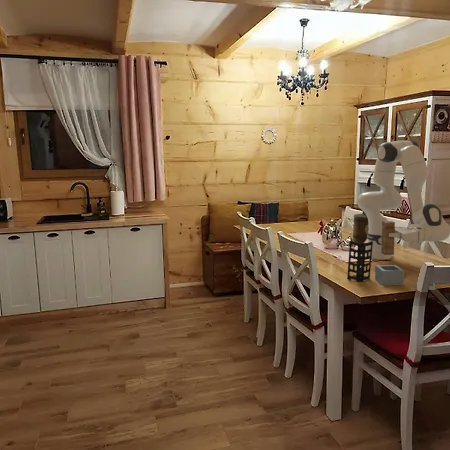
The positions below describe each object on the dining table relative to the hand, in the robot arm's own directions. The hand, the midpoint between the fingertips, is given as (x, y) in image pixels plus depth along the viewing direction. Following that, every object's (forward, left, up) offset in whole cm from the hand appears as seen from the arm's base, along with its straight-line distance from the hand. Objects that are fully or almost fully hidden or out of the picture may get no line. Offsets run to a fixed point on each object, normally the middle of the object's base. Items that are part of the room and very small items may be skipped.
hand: (386, 233), depth 204 cm
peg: (0, +1, -10) cm, 10 cm away
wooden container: (-88, +17, -23) cm, 92 cm away
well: (+5, 0, -23) cm, 23 cm away
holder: (+1, -13, -23) cm, 26 cm away
